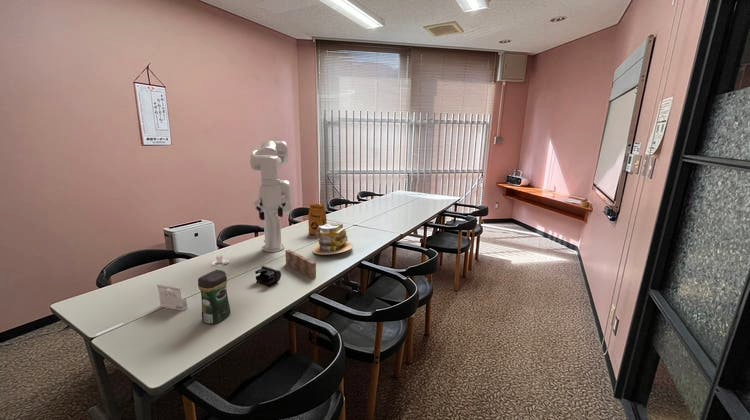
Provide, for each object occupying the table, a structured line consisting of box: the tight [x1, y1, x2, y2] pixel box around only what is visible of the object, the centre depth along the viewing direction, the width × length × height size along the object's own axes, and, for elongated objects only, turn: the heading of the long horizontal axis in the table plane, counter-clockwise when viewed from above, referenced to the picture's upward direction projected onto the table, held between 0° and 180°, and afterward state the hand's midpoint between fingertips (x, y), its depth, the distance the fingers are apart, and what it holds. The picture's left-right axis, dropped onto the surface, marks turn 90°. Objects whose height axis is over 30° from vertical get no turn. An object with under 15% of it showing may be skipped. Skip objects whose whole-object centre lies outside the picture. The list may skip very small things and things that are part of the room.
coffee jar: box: [197, 269, 231, 325], centre depth 117 cm, size 10×8×19 cm
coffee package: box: [307, 202, 327, 236], centre depth 216 cm, size 10×12×22 cm
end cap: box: [254, 265, 282, 288], centre depth 147 cm, size 10×7×7 cm
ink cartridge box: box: [156, 284, 188, 311], centre depth 123 cm, size 2×11×10 cm, turn 77°
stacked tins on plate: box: [312, 222, 354, 256], centre depth 188 cm, size 25×25×17 cm
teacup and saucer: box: [211, 254, 230, 267], centre depth 167 cm, size 9×8×4 cm
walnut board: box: [285, 249, 317, 280], centre depth 160 cm, size 24×2×8 cm, turn 48°
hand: (271, 218), depth 150 cm, fingers open, 9 cm apart
